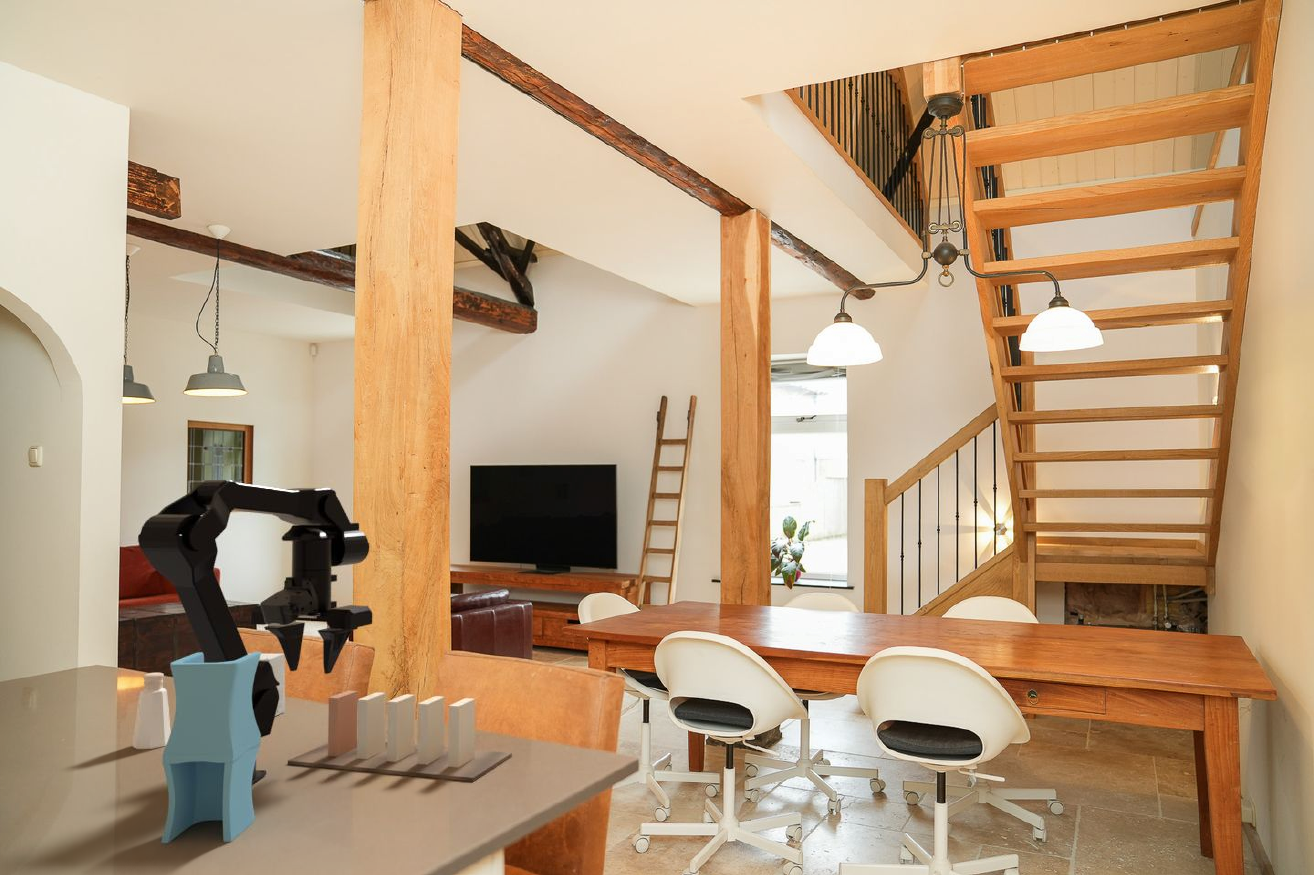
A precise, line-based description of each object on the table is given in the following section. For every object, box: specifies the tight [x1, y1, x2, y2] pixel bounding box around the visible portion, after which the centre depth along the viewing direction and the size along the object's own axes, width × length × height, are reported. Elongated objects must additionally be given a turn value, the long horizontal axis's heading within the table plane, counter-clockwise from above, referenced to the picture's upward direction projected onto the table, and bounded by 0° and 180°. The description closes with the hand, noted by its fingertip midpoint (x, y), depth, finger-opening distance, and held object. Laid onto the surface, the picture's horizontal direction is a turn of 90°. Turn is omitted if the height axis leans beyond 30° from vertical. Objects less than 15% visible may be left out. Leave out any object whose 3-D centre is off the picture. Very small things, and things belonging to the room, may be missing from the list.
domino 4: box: [448, 697, 476, 767], centre depth 130 cm, size 2×5×8 cm, turn 163°
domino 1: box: [357, 691, 387, 759], centre depth 135 cm, size 2×5×8 cm, turn 164°
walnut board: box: [287, 741, 513, 782], centre depth 133 cm, size 30×12×1 cm, turn 73°
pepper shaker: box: [131, 672, 172, 750], centre depth 142 cm, size 5×5×11 cm
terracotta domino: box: [327, 690, 358, 757], centre depth 136 cm, size 2×5×8 cm, turn 163°
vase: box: [160, 651, 262, 844], centre depth 107 cm, size 8×8×20 cm
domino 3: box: [417, 695, 446, 765], centre depth 132 cm, size 2×5×8 cm, turn 163°
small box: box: [248, 653, 286, 717], centre depth 160 cm, size 8×6×10 cm
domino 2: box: [386, 693, 416, 762], centre depth 133 cm, size 2×5×8 cm, turn 164°
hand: (310, 672), depth 138 cm, fingers open, 6 cm apart
